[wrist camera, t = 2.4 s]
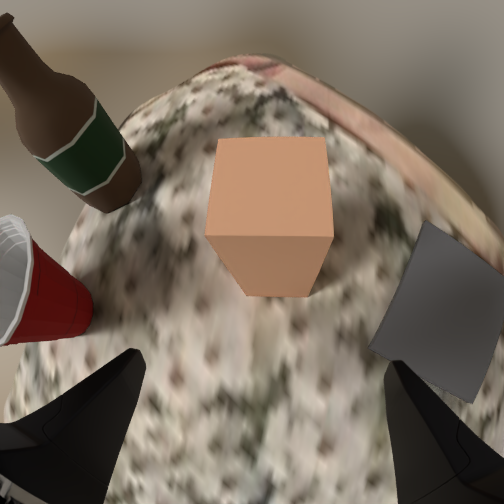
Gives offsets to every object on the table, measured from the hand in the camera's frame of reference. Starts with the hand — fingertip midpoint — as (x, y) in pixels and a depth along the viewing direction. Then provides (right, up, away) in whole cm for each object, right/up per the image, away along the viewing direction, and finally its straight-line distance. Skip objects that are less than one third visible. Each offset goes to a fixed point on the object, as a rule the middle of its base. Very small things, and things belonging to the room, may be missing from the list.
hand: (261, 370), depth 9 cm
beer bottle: (-16, +12, +20) cm, 28 cm away
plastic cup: (-19, -2, +16) cm, 24 cm away
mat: (+18, -2, +11) cm, 21 cm away
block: (+2, +3, +15) cm, 15 cm away
